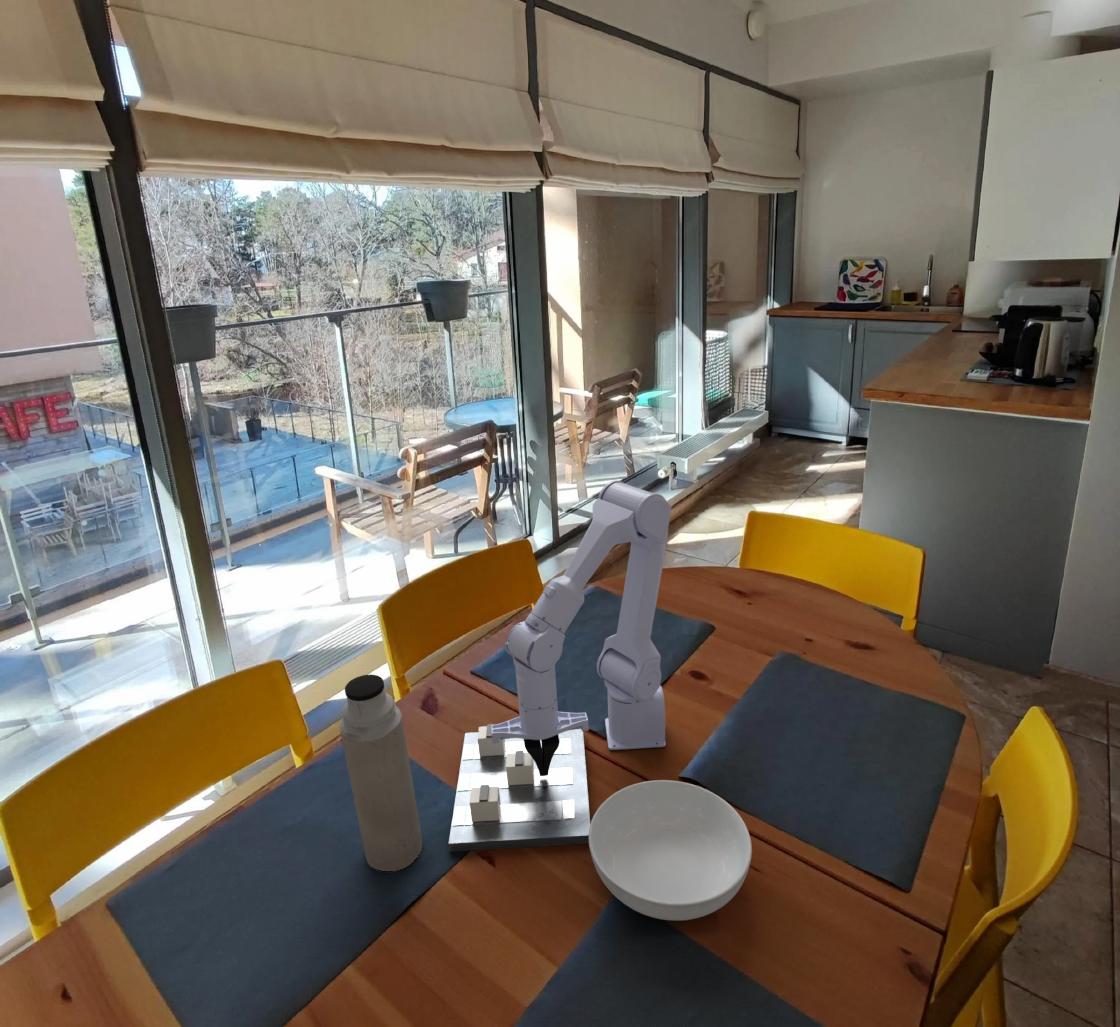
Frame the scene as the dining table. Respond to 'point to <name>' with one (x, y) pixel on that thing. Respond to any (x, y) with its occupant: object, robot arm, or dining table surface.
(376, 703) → the thermos bottle
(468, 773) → the panel
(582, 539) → the robot arm
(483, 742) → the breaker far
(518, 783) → the block
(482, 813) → the block
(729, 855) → the serving bowl
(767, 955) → the dining table surface
